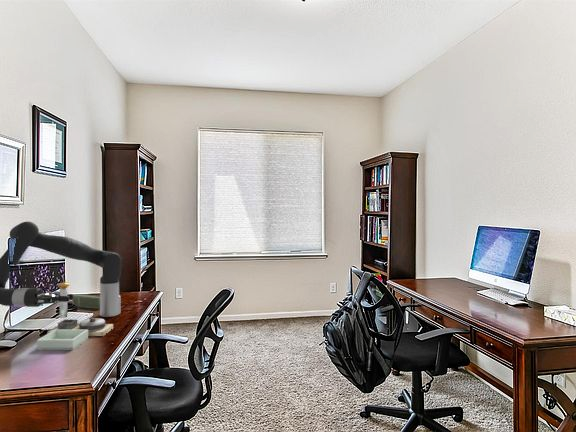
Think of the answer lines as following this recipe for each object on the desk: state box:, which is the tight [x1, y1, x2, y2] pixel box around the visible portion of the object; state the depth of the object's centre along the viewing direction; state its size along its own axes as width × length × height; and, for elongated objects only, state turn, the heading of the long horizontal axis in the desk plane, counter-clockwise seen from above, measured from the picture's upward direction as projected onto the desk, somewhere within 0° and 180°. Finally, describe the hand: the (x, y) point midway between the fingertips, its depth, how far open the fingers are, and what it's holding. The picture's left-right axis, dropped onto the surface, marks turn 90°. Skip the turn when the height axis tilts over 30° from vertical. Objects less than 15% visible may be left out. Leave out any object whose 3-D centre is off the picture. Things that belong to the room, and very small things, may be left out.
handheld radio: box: [71, 294, 100, 310], centre depth 229 cm, size 7×3×25 cm
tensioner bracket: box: [46, 317, 114, 337], centre depth 185 cm, size 24×12×6 cm, turn 93°
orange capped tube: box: [57, 282, 70, 319], centre depth 168 cm, size 4×4×14 cm
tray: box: [36, 330, 89, 351], centre depth 169 cm, size 14×14×4 cm
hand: (70, 297), depth 169 cm, fingers closed on orange capped tube, 2 cm apart
